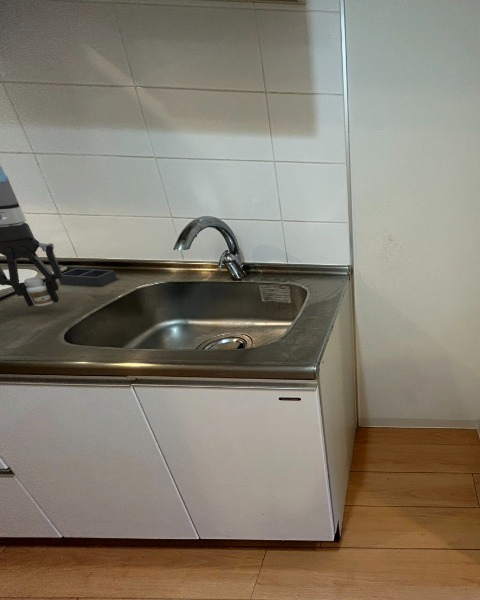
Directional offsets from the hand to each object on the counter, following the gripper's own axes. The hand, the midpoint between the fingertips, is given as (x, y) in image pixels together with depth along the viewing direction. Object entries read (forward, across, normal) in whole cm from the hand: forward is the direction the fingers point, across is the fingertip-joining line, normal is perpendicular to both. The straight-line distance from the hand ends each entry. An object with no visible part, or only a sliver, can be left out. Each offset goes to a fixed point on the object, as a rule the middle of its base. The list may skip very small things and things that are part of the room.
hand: (44, 302), depth 91 cm
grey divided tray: (+4, +8, +23) cm, 24 cm away
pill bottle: (+1, 0, 0) cm, 1 cm away
